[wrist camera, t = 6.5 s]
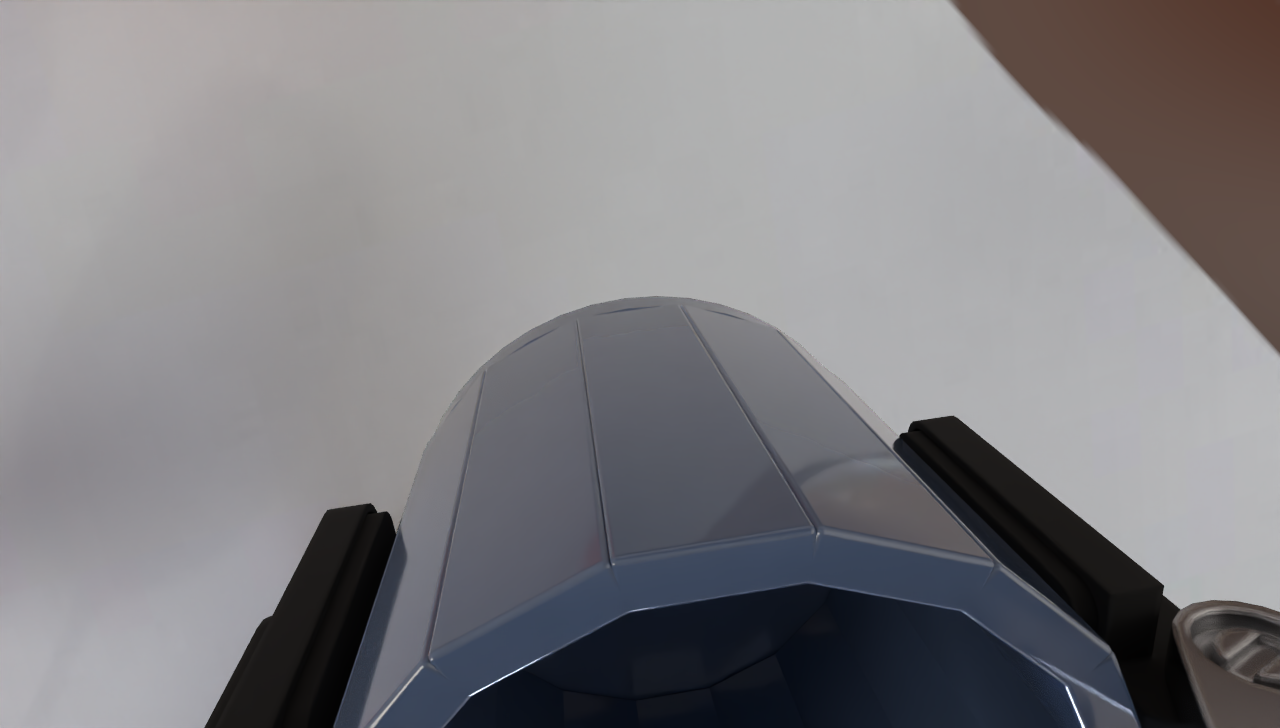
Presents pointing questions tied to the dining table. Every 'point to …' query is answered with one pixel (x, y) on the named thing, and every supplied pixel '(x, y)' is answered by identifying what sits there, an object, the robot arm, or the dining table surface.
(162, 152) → the dining table surface
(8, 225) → the dining table surface
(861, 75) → the dining table surface
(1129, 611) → the robot arm
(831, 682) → the blue faceted cup
